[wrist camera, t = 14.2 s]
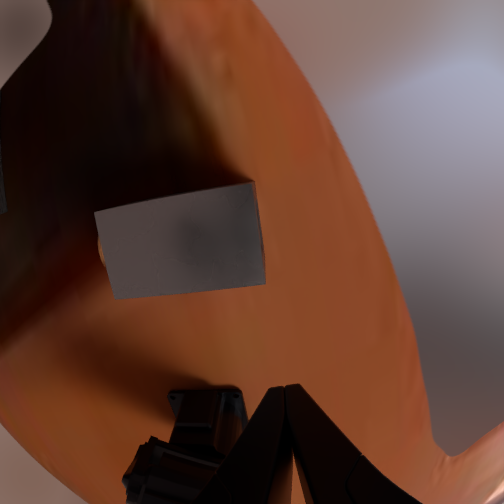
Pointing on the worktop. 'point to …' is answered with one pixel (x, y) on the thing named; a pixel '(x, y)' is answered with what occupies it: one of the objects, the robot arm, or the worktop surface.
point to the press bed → (2, 184)
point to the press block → (184, 242)
